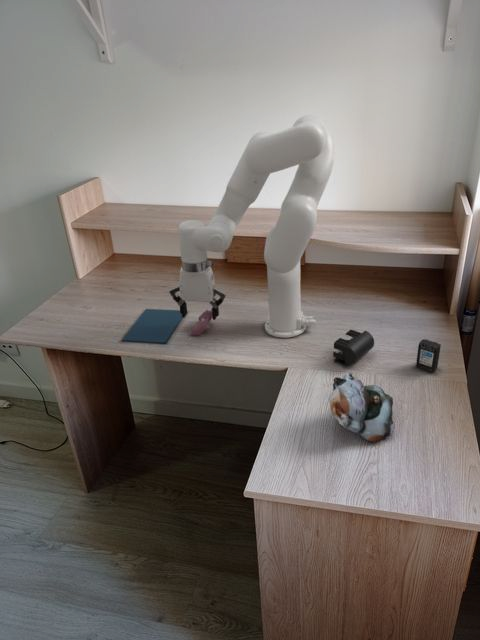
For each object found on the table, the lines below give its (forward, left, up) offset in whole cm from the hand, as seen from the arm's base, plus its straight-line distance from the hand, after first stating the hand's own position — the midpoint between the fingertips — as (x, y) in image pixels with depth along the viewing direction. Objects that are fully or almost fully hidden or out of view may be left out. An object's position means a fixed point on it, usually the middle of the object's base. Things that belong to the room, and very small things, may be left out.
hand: (199, 316), depth 158 cm
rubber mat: (+15, 0, -4) cm, 16 cm away
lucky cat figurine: (-50, +40, -5) cm, 64 cm away
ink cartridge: (-66, +15, -4) cm, 68 cm away
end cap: (-47, +12, -5) cm, 49 cm away
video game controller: (-1, 0, -4) cm, 5 cm away
